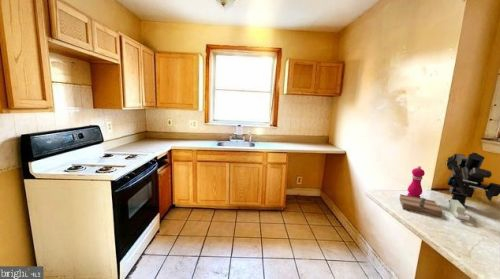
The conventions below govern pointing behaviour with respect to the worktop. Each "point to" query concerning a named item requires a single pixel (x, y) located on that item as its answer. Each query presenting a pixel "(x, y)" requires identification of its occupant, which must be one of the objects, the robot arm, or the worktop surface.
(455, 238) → the worktop surface
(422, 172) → the pepper mill
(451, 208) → the light grey piece
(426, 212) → the brown open rectangular box
